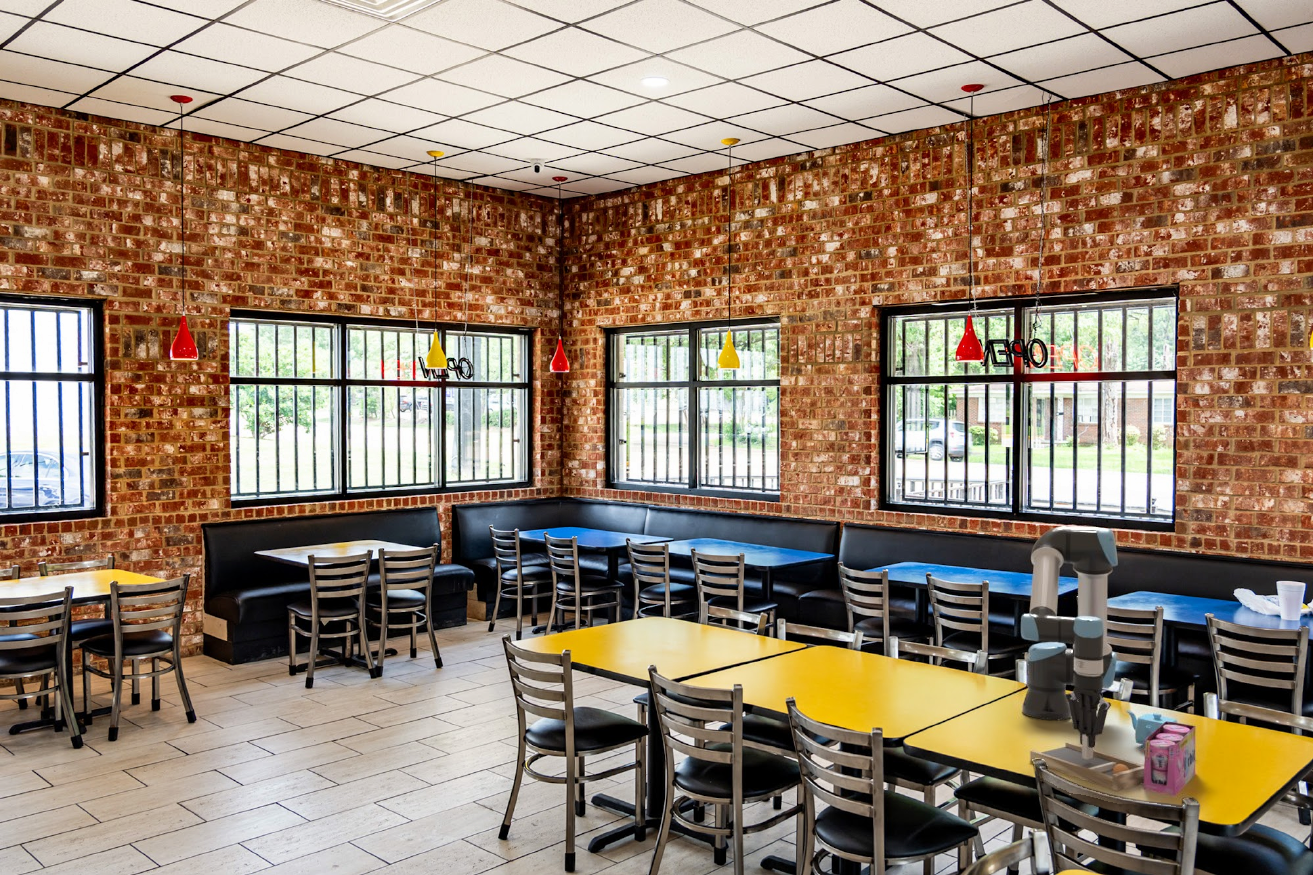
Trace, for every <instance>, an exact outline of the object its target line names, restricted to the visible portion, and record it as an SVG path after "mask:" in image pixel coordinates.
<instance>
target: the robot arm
mask: <svg viewBox="0 0 1313 875" xmlns="http://www.w3.org/2000/svg"><path fill="white" fill-rule="evenodd" d="M1117 552H1118V551H1117V545H1116V537H1115V534H1114V531H1113V530H1112V529H1111V528H1104V527H1102V528H1101V527H1098V526H1097V527H1090V526H1089V527H1086V526H1085V527H1083V526H1082V527H1081V526H1066V525H1065V526H1064V525H1063V526H1057V527H1053V528H1051V529H1049V530H1047V531H1045V532H1044V533H1043V534H1042V535H1040V537H1039V538H1038V539H1037V540H1036V541H1035V543H1034V545H1033V546H1032V548H1031V556H1030V560H1031V564H1032V565H1033V572H1032V581H1031V592H1030V593H1031V594H1030V604H1029V605H1030V606H1029V613H1023V614H1022V615H1021V618H1020V620H1021V621H1020V635H1021V638H1022V639H1024V640H1028V641H1032V642H1033V641H1034V642H1039V643H1035V644H1032V645H1031V646H1029V649H1028V658H1027V661H1028V667H1027V668H1028V669H1027V670H1028V672H1027V673H1028V674H1027V675H1028V676H1027V677H1028V678H1027V679H1028V682H1027V684H1028V685H1027V692H1026V695H1025V697H1024V700H1023V703H1022V713H1023V714H1024V715H1026V716H1029V717H1031V718H1035V719H1040V720H1049V721H1061V720H1067V719H1068V720H1069V719H1070V718H1071V721H1072V727H1073V730H1076V731H1078V732H1079V743H1080V744H1079V745H1080V746H1082V758H1084V759H1090V758H1093V750H1094V748H1095V747H1096V736H1099V735H1102V734H1103V732H1104V728H1105V724H1106V720H1107V719H1106V718H1107V714H1108V710H1110V708H1111V706H1112V703H1111V702H1110V701H1109V702H1107V701H1106V700H1105V699H1104V695H1103V693H1102V690H1103V689H1109V688H1111V687H1112V686H1113V684H1114V680H1115V675H1116V668H1117V667H1116V666H1117V660H1118V659H1117V656H1118V655H1117V653H1116V652H1114V651H1113V648H1112V646H1111V645H1110V644H1109V643H1108V641H1107V640H1108V576H1109V575H1110V574H1111V573H1112V572H1113V569H1114V568H1113V567H1116V566H1118V564H1119V563H1118V562H1119V561H1118V554H1117ZM1064 563H1065V564H1072V569H1073V571H1075V573H1076V574H1077V593H1078V594H1077V606H1078V607H1077V616H1076V617H1075V616H1074V617H1073V616H1061V615H1059V616H1057V614H1058V599H1059V583H1060V568H1061V567H1062V566H1063V565H1064ZM1066 644H1072V648H1067V645H1066ZM1067 685H1069V686H1070V685H1071V686H1074V688H1073V691H1072V692H1070V693H1066V692H1067V691H1066V687H1067Z"/></svg>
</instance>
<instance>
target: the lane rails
mask: <svg viewBox="0 0 1313 875" xmlns="http://www.w3.org/2000/svg"><path fill="white" fill-rule="evenodd" d="M1064 747H1068V748H1071V749H1075V750H1078V751H1081V752H1082V745H1081V744H1075V743H1073V742H1070V741H1066V742H1065V746H1064ZM1029 753H1030V754H1029V755H1030V756H1029V757H1030V760H1029V761H1030V762H1031V761H1032V759H1035V758H1041V759H1044V760H1045V761H1046V763H1047V765H1048V767H1047V768H1049V769H1051V770H1054V771H1057V772H1061V773H1063V774H1066V775H1069V776H1072V777H1074V778H1078V779H1081V780H1084V781H1087V782H1088V783H1089V782H1090V783H1092V784H1096V785H1098V786H1101V787H1104V788H1106V789H1109V790H1112V791H1115V792H1118V791H1121V790H1125V789H1129V788H1132V787H1136V786H1138V785H1144V765H1143V764H1140V763H1137V762H1134V761H1130V760H1128V759H1124V758H1122V757H1117V756H1114V755H1111V754H1109V753H1106V752H1105V753H1104V752H1101V751H1098V750H1095V749H1093V756H1097V757H1100V758H1103V759H1106V760H1109V761H1112V762H1115V763H1116V765H1117V764H1123V765H1125V766H1127V768H1128V769H1129V770H1127V771H1123V772H1120V773H1116V774H1113V776H1110V775H1107V774H1104V773H1101V772H1098V771H1095V770H1092V769H1089V768H1086V767H1083V766H1080V765H1077V764H1074V763H1071V762H1068V761H1065V760H1062V759H1058V758H1055V757H1052V756H1049V755H1046V754H1043V753H1041V752H1040V751H1037V750H1035V749H1033V750H1030V752H1029Z"/></svg>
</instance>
